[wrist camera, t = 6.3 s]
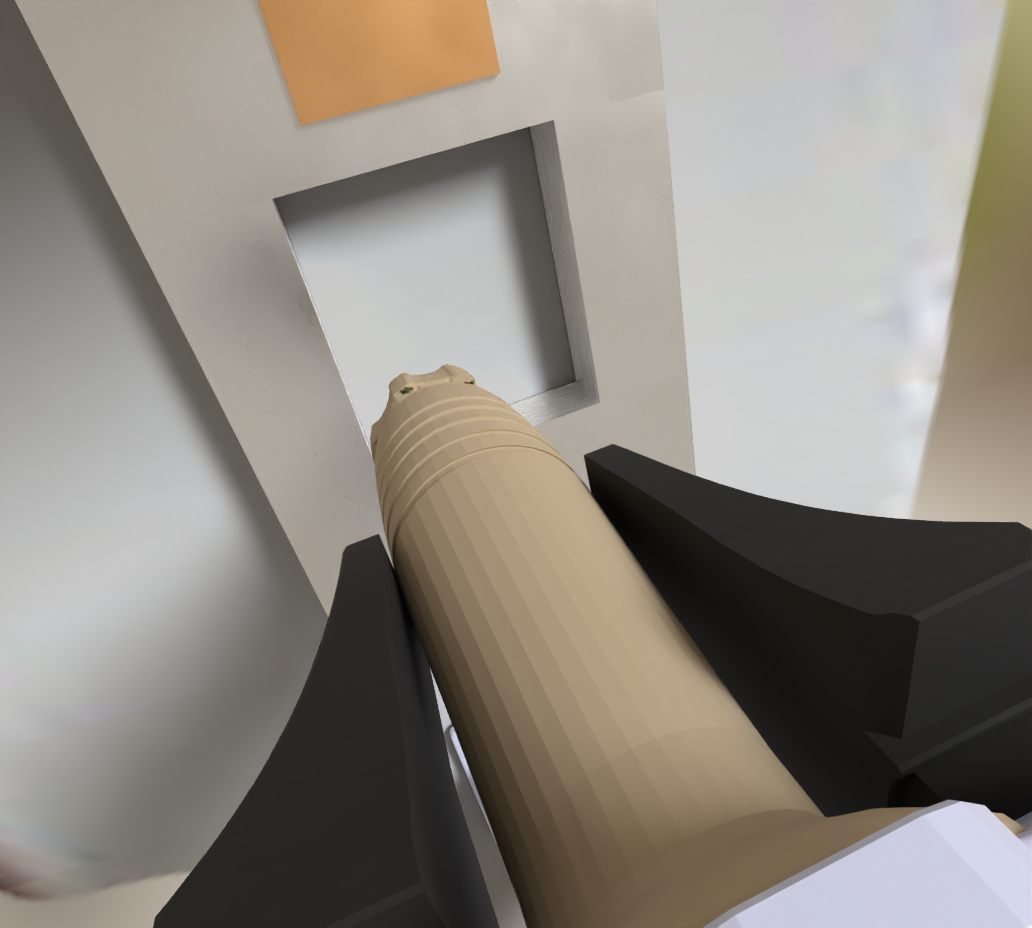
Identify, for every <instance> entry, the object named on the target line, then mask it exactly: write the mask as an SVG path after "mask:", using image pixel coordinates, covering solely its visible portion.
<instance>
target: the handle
mask: <svg viewBox="0 0 1032 928" xmlns="http://www.w3.org/2000/svg"><path fill="white" fill-rule="evenodd" d="M389 389H390V393H389V399H388V403H387V406H386V409H385V411H384V413H383V415H382V416H381V418H380V419H379V421H377V422H376V423H374V424H373V425H372V429H371V437H370V442H371V451H372V458H373V461H374V464H375V475H376V485H377V493H378V499H379V505H380V511H381V515H382V522H383V527H384V532H385V536H386V540H387V544H388V548H389V551H390V555H391V559H392V563H393V567H394V571H395V573H396V579H397V581H398V584H399V587H400V590H401V593H402V595H403V598H404V601H405V604H406V606H407V609H408V611H409V614H410V617H411V619H412V622H413V624H414V627H415V629H416V632H417V635H418V637H419V640H420V642H421V645H422V647H423V650H424V653H425V655H426V658H427V660H428V663H429V666H430V668H431V671H432V673H433V676H434V678H435V681H436V684H437V686H438V689H439V691H440V694H441V696H442V699H443V702H444V704H445V707H446V709H447V712H448V714H449V717H450V720H451V722H452V725H453V727H454V730H455V733H456V735H457V738H458V741H459V743H460V746H461V749H462V751H463V754H464V757H465V759H466V762H467V765H468V767H469V770H470V773H471V775H472V778H473V781H474V783H475V786H476V789H477V791H478V794H479V797H480V799H481V802H482V805H483V807H484V810H485V813H486V815H487V818H488V821H489V823H490V826H491V829H492V831H493V834H494V837H495V839H496V842H497V845H498V847H499V850H500V853H501V855H502V858H503V861H504V863H505V866H506V869H507V872H508V874H509V877H510V880H511V882H512V885H513V888H514V890H515V893H516V896H517V898H518V901H519V904H520V907H521V910H522V914H523V917H524V920H525V923H526V927H527V928H703V927H705V926H706V925H708V924H709V923H711V922H712V921H714V920H715V919H716V918H718V917H719V916H721V915H722V914H724V913H725V912H727V911H728V910H730V909H732V908H733V907H735V906H737V905H739V904H741V903H743V902H745V901H747V900H749V899H751V898H752V897H754V896H756V895H758V894H760V893H762V892H764V891H766V890H768V889H769V888H771V887H773V886H775V885H777V884H779V883H781V882H783V881H785V880H786V879H788V878H790V877H792V876H794V875H796V874H798V873H800V872H802V871H803V870H805V869H807V868H809V867H811V866H813V865H815V864H817V863H819V862H820V861H822V860H824V859H826V858H828V857H830V856H832V855H834V854H836V853H838V852H839V851H841V850H843V849H845V848H847V847H849V846H851V845H853V844H855V843H856V842H858V841H860V840H862V839H864V838H866V837H868V836H870V835H872V834H873V833H875V832H877V831H879V830H881V829H883V828H885V827H887V826H889V825H890V824H892V823H894V822H896V821H898V820H900V819H902V818H904V817H906V816H908V815H909V814H911V813H913V812H916V811H918V810H921V809H924V808H927V807H899V808H877V809H869V810H864V811H859V812H854V813H850V814H845V815H840V816H835V817H825V816H824V815H823V814H822V812H821V811H820V810H819V809H818V807H817V806H816V805H815V804H814V802H813V801H812V800H811V799H810V798H809V796H808V795H807V794H806V793H805V791H804V790H803V789H802V788H801V786H800V785H799V784H798V783H797V781H796V780H795V779H794V778H793V777H792V775H791V774H790V773H789V772H788V770H787V769H786V768H785V767H784V765H783V764H782V763H781V762H780V761H779V759H778V758H777V757H776V756H775V754H774V753H773V752H772V751H771V749H770V748H769V747H768V745H767V744H766V742H765V741H764V739H763V738H762V737H761V735H760V734H759V732H758V731H757V730H756V728H755V727H754V725H753V724H752V723H751V721H750V720H749V718H748V717H747V715H746V714H745V713H744V711H743V710H742V708H741V707H740V706H739V704H738V703H737V701H736V700H735V698H734V697H733V696H732V694H731V693H730V691H729V690H728V689H727V687H726V686H725V684H724V683H723V681H722V680H721V679H720V677H719V676H718V674H717V673H716V672H715V670H714V669H713V667H712V666H711V665H710V663H709V662H708V660H707V659H706V657H705V656H704V655H703V653H702V652H701V650H700V649H699V648H698V646H697V645H696V643H695V642H694V640H693V639H692V638H691V636H690V635H689V633H688V632H687V631H686V629H685V628H684V626H683V625H682V623H681V622H680V621H679V619H678V618H677V616H676V615H675V614H674V612H673V611H672V609H671V608H670V607H669V605H668V604H667V602H666V601H665V599H664V598H663V596H662V595H661V594H660V592H659V591H658V589H657V588H656V586H655V585H654V583H653V582H652V580H651V579H650V578H649V576H648V575H647V573H646V572H645V570H644V569H643V567H642V566H641V564H640V563H639V562H638V560H637V559H636V557H635V556H634V554H633V553H632V551H631V550H630V548H629V547H628V546H627V544H626V543H625V541H624V540H623V538H622V537H621V535H620V534H619V532H618V531H617V530H616V528H615V527H614V525H613V524H612V522H611V521H610V519H609V518H608V516H607V515H606V514H605V512H604V511H603V509H602V508H601V506H600V505H599V503H598V502H597V500H596V499H595V498H594V496H593V495H592V493H591V492H590V490H589V489H588V487H587V486H586V485H585V483H584V482H583V481H582V480H581V479H580V477H579V476H578V475H577V474H576V473H575V472H574V470H573V469H572V468H571V467H570V466H569V464H568V463H567V462H566V461H565V460H564V459H563V457H562V456H561V455H560V454H559V453H558V452H557V450H556V449H555V448H554V447H553V446H552V445H551V443H550V442H548V440H547V439H546V438H545V437H544V436H543V435H542V434H541V433H540V432H539V431H538V430H537V429H535V428H534V426H533V425H532V424H531V423H529V422H528V421H527V420H526V419H525V418H524V417H523V416H522V415H521V414H520V413H518V412H517V411H516V410H515V409H513V408H512V407H511V406H510V405H508V404H507V403H506V402H504V401H503V400H502V399H500V398H499V397H497V396H495V395H494V394H492V393H490V392H488V391H486V390H484V389H483V388H480V387H478V386H477V385H476V383H475V379H474V377H472V376H471V375H470V374H469V373H468V372H467V371H465V370H463V369H461V368H459V367H456V366H453V365H448V364H446V365H443V366H441V368H440V369H439V370H437V371H435V372H432V373H428V374H424V375H409V374H407V373H402V374H401V375H399V376H398V377H396V378H395V379H394V380H393V381H391V382H390V384H389ZM992 813H993V812H992ZM993 814H994V815H995V816H996V817H997V818H998V819H999V820H1000V821H1001V822H1002V823H1003V824H1004V825H1005V826H1006V827H1007V828H1008V829H1009V830H1010V831H1011V832H1012V833H1013V834H1014V835H1017V834H1019V833H1022V832H1025V831H1027V830H1026V829H1025V828H1024V827H1022V826H1021V825H1020V824H1019V823H1017V822H1015V821H1014V820H1012V819H1011V818H1009V817H1008V816H1006V815H1005V814H1003V813H993Z"/></svg>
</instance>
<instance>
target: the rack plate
mask: <svg viewBox="0 0 1032 928" xmlns="http://www.w3.org/2000/svg"><path fill="white" fill-rule="evenodd" d="M15 2H16V4H17V6H18V8H19V9H20V11H21V13H22V15H23V17H24V19H25V21H26V23H27V25H28V27H29V29H30V31H31V33H32V35H33V37H34V39H35V41H36V43H37V45H38V47H39V49H40V51H41V53H42V55H43V57H44V59H45V61H46V63H47V65H48V67H49V69H50V71H51V73H52V74H53V76H54V78H55V80H56V82H57V84H58V86H59V88H60V90H61V92H62V94H63V96H64V98H65V100H66V102H67V104H68V106H69V108H70V110H71V112H72V114H73V116H74V118H75V120H76V122H77V124H78V126H79V128H80V130H81V132H82V134H83V136H84V137H85V139H86V141H87V143H88V145H89V147H90V149H91V151H92V153H93V155H94V157H95V159H96V161H97V163H98V165H99V167H100V169H101V171H102V173H103V175H104V177H105V179H106V181H107V183H108V185H109V187H110V189H111V191H112V193H113V195H114V197H115V199H116V201H117V202H118V204H119V206H120V208H121V210H122V212H123V214H124V216H125V218H126V220H127V222H128V224H129V226H130V228H131V230H132V232H133V234H134V236H135V238H136V240H137V242H138V244H139V246H140V248H141V250H142V252H143V254H144V256H145V258H146V260H147V262H148V264H149V265H150V267H151V269H152V271H153V273H154V275H155V277H156V279H157V281H158V283H159V285H160V287H161V289H162V291H163V293H164V295H165V297H166V299H167V301H168V303H169V305H170V307H171V309H172V311H173V313H174V315H175V317H176V319H177V321H178V323H179V325H180V327H181V329H182V330H183V332H184V334H185V336H186V338H187V340H188V342H189V344H190V346H191V348H192V350H193V352H194V354H195V356H196V358H197V360H198V362H199V364H200V366H201V368H202V370H203V372H204V374H205V376H206V378H207V380H208V382H209V384H210V386H211V388H212V390H213V392H214V394H215V395H216V397H217V399H218V401H219V403H220V405H221V407H222V409H223V411H224V413H225V415H226V417H227V419H228V421H229V423H230V425H231V427H232V429H233V431H234V433H235V435H236V437H237V439H238V441H239V443H240V445H241V447H242V449H243V451H244V453H245V455H246V457H247V458H248V460H249V462H250V464H251V466H252V468H253V470H254V472H255V474H256V476H257V478H258V480H259V482H260V484H261V486H262V488H263V490H264V492H265V494H266V496H267V498H268V500H269V502H270V504H271V506H272V508H273V510H274V512H275V514H276V516H277V518H278V520H279V522H280V523H281V525H282V527H283V529H284V531H285V533H286V535H287V537H288V539H289V541H290V543H291V545H292V547H293V549H294V551H295V553H296V555H297V557H298V559H299V561H300V563H301V565H302V567H303V569H304V571H305V573H306V575H307V577H308V579H309V581H310V583H311V585H312V586H313V588H314V590H315V592H316V594H317V596H318V598H319V600H320V602H321V604H322V606H323V608H324V610H325V612H326V614H327V616H328V617H329V614H330V610H331V607H332V603H333V599H334V595H335V591H336V587H337V582H338V577H339V572H340V567H341V560H342V553H343V551H344V549H345V548H346V546H348V545H350V544H353V543H356V542H358V541H361V540H363V539H366V538H369V537H371V536H374V535H376V534H379V535H380V537H381V540H382V542H383V544H384V547H385V549H386V551H387V554H388V556H389V559H390V561H391V563H392V559H391V555H390V551H389V548H388V544H387V540H386V536H385V532H384V527H383V522H382V515H381V511H380V505H379V499H378V493H377V485H376V475H375V464H374V461H373V458H372V451H371V449H370V446H369V443H368V441H367V438H366V436H365V433H364V431H363V428H362V425H361V423H360V420H359V418H358V415H357V412H356V410H355V407H354V405H353V402H352V400H351V397H350V394H349V392H348V389H347V387H346V384H345V381H344V379H343V376H342V374H341V371H340V369H339V366H338V363H337V361H336V358H335V356H334V353H333V351H332V348H331V345H330V343H329V340H328V338H327V335H326V332H325V330H324V327H323V325H322V322H321V320H320V317H319V314H318V312H317V309H316V307H315V304H314V301H313V299H312V296H311V294H310V291H309V289H308V286H307V283H306V281H305V278H304V276H303V273H302V270H301V268H300V265H299V263H298V260H297V258H296V255H295V252H294V250H293V247H292V245H291V242H290V239H289V237H288V234H287V232H286V229H285V227H284V224H283V221H282V219H281V216H280V214H279V211H278V208H277V206H276V203H275V201H274V198H277V197H281V196H284V195H288V194H291V193H295V192H298V191H302V190H305V189H309V188H313V187H316V186H320V185H323V184H327V183H330V182H334V181H338V180H341V179H345V178H348V177H352V176H355V175H359V174H362V173H366V172H370V171H373V170H377V169H380V168H384V167H387V166H391V165H395V164H398V163H402V162H405V161H409V160H412V159H416V158H419V157H423V156H427V155H430V154H434V153H437V152H441V151H444V150H448V149H452V148H455V147H459V146H462V145H466V144H469V143H473V142H477V141H480V140H484V139H487V138H491V137H494V136H498V135H501V134H505V133H509V132H512V131H516V130H519V129H523V128H526V127H530V130H531V136H532V141H533V147H534V152H535V158H536V163H537V169H538V174H539V180H540V185H541V191H542V196H543V202H544V207H545V213H546V218H547V224H548V229H549V235H550V240H551V246H552V251H553V257H554V262H555V268H556V273H557V279H558V284H559V290H560V295H561V301H562V306H563V312H564V317H565V323H566V328H567V334H568V339H569V345H570V350H571V356H572V361H573V367H574V372H575V378H576V381H575V382H572V383H570V384H567V385H564V386H561V387H558V388H555V389H553V390H550V391H547V392H544V393H541V394H539V395H536V396H533V397H530V398H527V399H525V400H522V401H519V402H516V403H513V404H510V406H511V407H512V408H513V409H515V410H516V411H517V412H518V413H520V414H521V415H522V416H523V417H524V418H525V419H526V420H527V421H528V422H529V423H531V424H532V425H533V426H534V428H535V429H537V430H538V431H539V432H540V433H541V434H542V435H543V436H544V437H545V438H546V439H547V440H548V442H550V443H551V445H552V446H553V447H554V448H555V449H556V450H557V452H558V453H559V454H560V455H561V456H562V457H563V459H564V460H565V461H566V462H567V463H568V464H569V466H570V467H571V468H572V469H573V470H574V472H575V473H576V474H577V475H578V476H579V477H580V479H581V480H582V481H583V482H584V483H585V485H586V486H587V487H588V489H589V490H590V485H589V480H588V475H587V470H586V465H585V460H584V455H585V454H587V453H590V452H593V451H595V450H598V449H600V448H603V447H606V446H608V445H611V444H615V445H618V446H620V447H623V448H626V449H628V450H631V451H633V452H636V453H638V454H641V455H643V456H646V457H648V458H651V459H653V460H656V461H658V462H661V463H664V464H666V465H669V466H671V467H674V468H676V469H679V470H682V471H684V472H687V473H690V474H693V475H695V476H696V471H695V459H694V447H693V435H692V423H691V411H690V399H689V386H688V374H687V362H686V350H685V338H684V326H683V314H682V302H681V289H680V277H679V265H678V253H677V241H676V229H675V217H674V205H673V193H672V180H671V168H670V156H669V144H668V132H667V120H666V108H665V96H664V84H663V71H662V59H661V47H660V35H659V23H658V11H657V0H15ZM590 492H591V490H590ZM392 566H393V563H392ZM393 568H394V567H393Z"/></svg>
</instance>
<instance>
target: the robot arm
mask: <svg viewBox="0 0 1032 928" xmlns="http://www.w3.org/2000/svg"><path fill="white" fill-rule="evenodd" d="M584 460H585V465H586V470H587V475H588V480H589V485H590V490H591V493H592V495H593V496H594V498H595V499H596V500H597V502H598V503H599V505H600V506H601V508H602V509H603V511H604V512H605V514H606V515H607V516H608V518H609V519H610V521H611V522H612V524H613V525H614V527H615V528H616V530H617V531H618V532H619V534H620V535H621V537H622V538H623V540H624V541H625V543H626V544H627V546H628V547H629V548H630V550H631V551H632V553H633V554H634V556H635V557H636V559H637V560H638V562H639V563H640V564H641V566H642V567H643V569H644V570H645V572H646V573H647V575H648V576H649V578H650V579H651V580H652V582H653V583H654V585H655V586H656V588H657V589H658V591H659V592H660V594H661V595H662V596H663V598H664V599H665V601H666V602H667V604H668V605H669V607H670V608H671V609H672V611H673V612H674V614H675V615H676V616H677V618H678V619H679V621H680V622H681V623H682V625H683V626H684V628H685V629H686V631H687V632H688V633H689V635H690V636H691V638H692V639H693V640H694V642H695V643H696V645H697V646H698V648H699V649H700V650H701V652H702V653H703V655H704V656H705V657H706V659H707V660H708V662H709V663H710V665H711V666H712V667H713V669H714V670H715V672H716V673H717V674H718V676H719V677H720V679H721V680H722V681H723V683H724V684H725V686H726V687H727V689H728V690H729V691H730V693H731V694H732V696H733V697H734V698H735V700H736V701H737V703H738V704H739V706H740V707H741V708H742V710H743V711H744V713H745V714H746V715H747V717H748V718H749V720H750V721H751V723H752V724H753V725H754V727H755V728H756V730H757V731H758V732H759V734H760V735H761V737H762V738H763V739H764V741H765V742H766V744H767V745H768V747H769V748H770V749H771V751H772V752H773V753H774V754H775V756H776V757H777V758H778V759H779V761H780V762H781V763H782V764H783V765H784V767H785V768H786V769H787V770H788V772H789V773H790V774H791V775H792V777H793V778H794V779H795V780H796V781H797V783H798V784H799V785H800V786H801V788H802V789H803V790H804V791H805V793H806V794H807V795H808V796H809V798H810V799H811V800H812V801H813V802H814V804H815V805H816V806H817V807H818V809H819V810H820V811H821V812H822V814H823V815H824V816H825V817H835V816H840V815H845V814H850V813H854V812H859V811H864V810H869V809H877V808H899V807H927V808H924V809H921V810H918V811H916V812H913V813H911V814H909V815H908V816H906V817H904V818H902V819H900V820H898V821H896V822H894V823H892V824H890V825H889V826H887V827H885V828H883V829H881V830H879V831H877V832H875V833H873V834H872V835H870V836H868V837H866V838H864V839H862V840H860V841H858V842H856V843H855V844H853V845H851V846H849V847H847V848H845V849H843V850H841V851H839V852H838V853H836V854H834V855H832V856H830V857H828V858H826V859H824V860H822V861H820V862H819V863H817V864H815V865H813V866H811V867H809V868H807V869H805V870H803V871H802V872H800V873H798V874H796V875H794V876H792V877H790V878H788V879H786V880H785V881H783V882H781V883H779V884H777V885H775V886H773V887H771V888H769V889H768V890H766V891H764V892H762V893H760V894H758V895H756V896H754V897H752V898H751V899H749V900H747V901H745V902H743V903H741V904H739V905H737V906H735V907H733V908H732V909H730V910H728V911H727V912H725V913H724V914H722V915H721V916H719V917H718V918H716V919H715V920H714V921H712V922H711V923H709V924H708V925H706V926H705V927H703V928H1032V530H1031V529H1030V528H1028V527H1026V526H1024V525H1022V524H1021V523H1018V522H942V521H925V520H911V519H896V518H886V517H876V516H866V515H859V514H852V513H845V512H838V511H831V510H825V509H819V508H813V507H808V506H803V505H798V504H794V503H789V502H785V501H780V500H776V499H771V498H767V497H763V496H759V495H755V494H752V493H748V492H745V491H742V490H738V489H735V488H732V487H728V486H725V485H722V484H719V483H716V482H713V481H710V480H707V479H704V478H701V477H698V476H695V475H693V474H690V473H687V472H684V471H682V470H679V469H676V468H674V467H671V466H669V465H666V464H664V463H661V462H658V461H656V460H653V459H651V458H648V457H646V456H643V455H641V454H638V453H636V452H633V451H631V450H628V449H626V448H623V447H620V446H618V445H615V444H611V445H608V446H606V447H603V448H600V449H598V450H595V451H593V452H590V453H587V454H585V455H584ZM450 736H451V739H452V742H453V744H454V747H455V749H456V751H457V754H458V756H459V758H460V761H461V763H462V765H463V768H464V770H465V772H466V775H467V777H468V779H469V782H470V784H471V786H472V789H473V791H474V793H475V796H476V798H477V800H478V803H479V805H480V807H481V810H482V812H483V814H484V817H485V819H486V821H487V824H488V826H489V828H490V831H491V833H492V835H493V838H494V840H495V842H496V839H495V837H494V834H493V831H492V829H491V826H490V823H489V821H488V818H487V815H486V813H485V810H484V807H483V805H482V802H481V799H480V797H479V794H478V791H477V789H476V786H475V783H474V781H473V778H472V775H471V773H470V770H469V767H468V765H467V762H466V759H465V757H464V754H463V751H462V749H461V746H460V743H459V741H458V738H457V735H456V733H455V730H454V727H452V728H451V730H450ZM992 812H993V813H1003V814H1005V815H1006V816H1008V817H1009V818H1011V819H1012V820H1014V821H1015V822H1017V823H1019V824H1020V825H1021V826H1022V827H1024V828H1025V829H1026V830H1027V831H1025V832H1022V833H1019V834H1017V835H1014V834H1013V833H1012V832H1011V831H1010V830H1009V829H1008V828H1007V827H1006V826H1005V825H1004V824H1003V823H1002V822H1001V821H1000V820H999V819H998V818H997V817H996V816H995V815H994V814H993V813H992ZM496 843H497V842H496ZM517 899H518V898H517ZM518 903H519V901H518ZM519 906H520V904H519ZM520 909H521V907H520ZM521 912H522V910H521ZM522 915H523V914H522ZM523 918H524V917H523ZM524 921H525V920H524ZM525 924H526V923H525ZM153 928H499V925H498V922H497V919H496V916H495V912H494V909H493V906H492V903H491V900H490V897H489V894H488V891H487V887H486V884H485V881H484V878H483V875H482V872H481V868H480V865H479V862H478V859H477V856H476V853H475V849H474V846H473V843H472V840H471V837H470V833H469V830H468V827H467V824H466V821H465V817H464V814H463V811H462V808H461V804H460V801H459V798H458V795H457V791H456V787H455V783H454V779H453V775H452V771H451V767H450V762H449V757H448V753H447V748H446V743H445V738H444V733H443V728H442V723H441V719H440V714H439V709H438V704H437V699H436V694H435V690H434V685H433V680H432V675H431V670H430V666H429V663H428V660H427V658H426V655H425V653H424V650H423V647H422V645H421V642H420V640H419V637H418V635H417V632H416V629H415V627H414V624H413V622H412V619H411V617H410V614H409V611H408V609H407V606H406V604H405V601H404V598H403V595H402V593H401V590H400V587H399V584H398V581H397V579H396V573H395V571H394V568H393V566H392V563H391V561H390V559H389V556H388V554H387V551H386V549H385V547H384V544H383V542H382V540H381V537H380V535H379V534H376V535H374V536H371V537H369V538H366V539H363V540H361V541H358V542H356V543H353V544H350V545H348V546H346V548H345V549H344V551H343V553H342V560H341V567H340V572H339V577H338V582H337V587H336V591H335V595H334V599H333V603H332V607H331V610H330V614H329V617H328V621H327V624H326V628H325V631H324V634H323V637H322V640H321V643H320V646H319V649H318V651H317V654H316V657H315V660H314V663H313V665H312V668H311V671H310V674H309V676H308V679H307V681H306V683H305V686H304V688H303V691H302V693H301V695H300V697H299V700H298V702H297V704H296V706H295V708H294V710H293V713H292V715H291V717H290V719H289V721H288V723H287V725H286V727H285V729H284V731H283V733H282V734H281V736H280V738H279V740H278V742H277V744H276V746H275V748H274V749H273V751H272V753H271V755H270V757H269V759H268V761H267V762H266V764H265V766H264V767H263V769H262V771H261V773H260V774H259V776H258V778H257V779H256V781H255V783H254V784H253V786H252V787H251V789H250V790H249V792H248V793H247V795H246V797H245V798H244V800H243V801H242V803H241V804H240V806H239V807H238V809H237V810H236V812H235V813H234V815H233V816H232V818H231V819H230V821H229V822H228V823H227V825H226V826H225V828H224V829H223V831H222V832H221V834H220V835H219V836H218V838H217V839H216V840H215V842H214V843H213V845H212V846H211V847H210V849H209V850H208V851H207V853H206V854H205V855H204V856H203V858H202V859H201V860H200V862H199V863H198V864H197V865H196V867H195V868H194V869H193V871H192V872H191V873H190V874H189V876H188V877H187V878H186V879H185V881H184V882H183V883H182V885H181V886H180V887H179V888H178V890H177V891H176V892H175V894H174V895H173V896H172V897H171V899H170V900H169V901H168V902H167V904H166V905H165V906H164V907H163V908H162V910H161V911H160V912H159V913H158V914H157V916H156V917H155V921H154V926H153Z"/></svg>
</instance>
